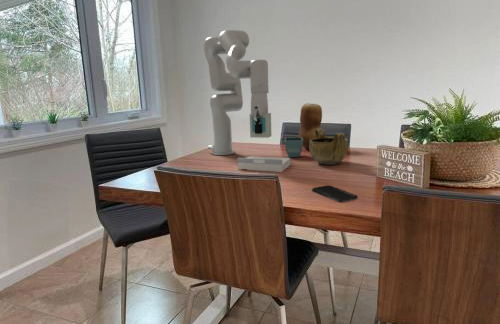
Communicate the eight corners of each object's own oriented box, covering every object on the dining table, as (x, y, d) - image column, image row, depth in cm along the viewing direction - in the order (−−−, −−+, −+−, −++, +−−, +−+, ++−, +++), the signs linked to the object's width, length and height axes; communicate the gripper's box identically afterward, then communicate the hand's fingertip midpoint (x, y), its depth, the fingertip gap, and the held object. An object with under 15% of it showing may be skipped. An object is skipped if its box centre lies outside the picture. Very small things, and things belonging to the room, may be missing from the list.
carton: (254, 135, 161) (253, 113, 158) (271, 136, 158) (270, 113, 156) (250, 137, 156) (249, 114, 154) (267, 137, 153) (267, 114, 151)
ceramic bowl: (358, 167, 155) (359, 132, 152) (322, 170, 151) (322, 135, 148) (333, 157, 176) (333, 126, 173) (301, 160, 172) (301, 128, 169)
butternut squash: (327, 150, 194) (327, 103, 188) (304, 152, 191) (304, 104, 185) (315, 146, 207) (316, 102, 202) (294, 148, 204) (293, 103, 198)
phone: (328, 185, 127) (359, 196, 114) (328, 188, 128) (358, 199, 114) (310, 188, 124) (339, 200, 111) (310, 191, 124) (339, 203, 111)
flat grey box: (237, 169, 158) (237, 158, 157) (249, 162, 171) (249, 152, 170) (281, 172, 151) (281, 160, 150) (290, 164, 164) (290, 153, 163)
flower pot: (302, 154, 185) (302, 137, 183) (303, 158, 176) (303, 140, 174) (285, 154, 186) (284, 137, 184) (285, 158, 177) (284, 140, 175)
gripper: (257, 89, 162) (259, 130, 165) (244, 90, 146) (245, 135, 150) (273, 89, 159) (274, 130, 163) (261, 90, 143) (262, 135, 147)
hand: (260, 132), depth 156 cm, fingers closed on carton, 5 cm apart
